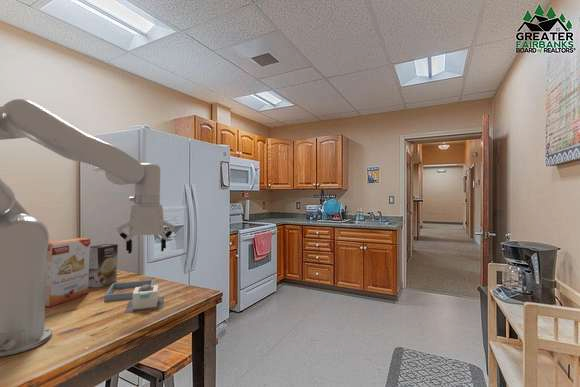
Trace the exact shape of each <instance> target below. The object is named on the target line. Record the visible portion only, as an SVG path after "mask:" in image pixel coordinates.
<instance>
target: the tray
mask: <svg viewBox="0 0 580 387" xmlns="http://www.w3.org/2000/svg"><path fill="white" fill-rule="evenodd" d="M142 285H151V286H153V285H155V279H146V280H143V279H142V280H134V281H125V282H124V281H122V282H113V283H111V285H110V286H109V288H108V289H107V291H106V293H105V294H104V295H103V297H104V299H103V301H104V302H105V303H106V302H112V301H121V300H132V299H133V292H134V291H129V292H128V291H127V292H121V293H113V292H114V291H115V290H126V289H127V290H128V289H135V287H141V286H142Z"/></svg>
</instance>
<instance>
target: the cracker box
mask: <svg viewBox="0 0 580 387" xmlns="http://www.w3.org/2000/svg"><path fill="white" fill-rule="evenodd" d="M90 247H91V238H86V237H85V238H84V237H78V238H77V237H76V238H69V239H64V240H55V241H49V243H48V250H47V257H46V282H45V308H46V307H48V308H51V307H54V306H56V305H60V304H62V303H65V302H67V301H70V300H74V299H76V298H79V297H81V296H85V295H87V294H89V287H88V279H89V256H90Z"/></svg>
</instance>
